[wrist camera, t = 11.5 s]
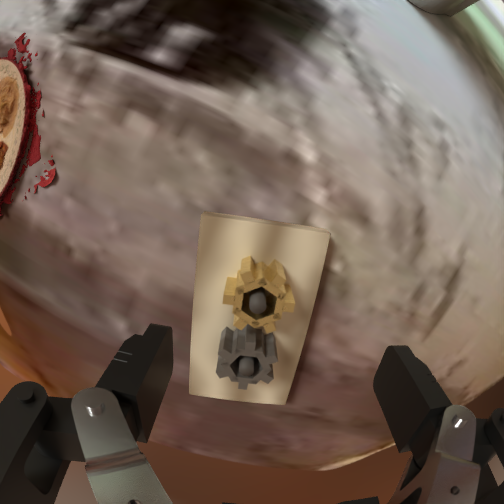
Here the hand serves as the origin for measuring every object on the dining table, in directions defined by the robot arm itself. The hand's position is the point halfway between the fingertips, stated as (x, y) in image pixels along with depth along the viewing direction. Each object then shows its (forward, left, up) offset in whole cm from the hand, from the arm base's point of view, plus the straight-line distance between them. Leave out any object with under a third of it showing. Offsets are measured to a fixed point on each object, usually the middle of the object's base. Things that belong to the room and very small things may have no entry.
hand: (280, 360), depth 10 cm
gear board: (0, +10, -20) cm, 22 cm away
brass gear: (0, +5, -18) cm, 18 cm away
